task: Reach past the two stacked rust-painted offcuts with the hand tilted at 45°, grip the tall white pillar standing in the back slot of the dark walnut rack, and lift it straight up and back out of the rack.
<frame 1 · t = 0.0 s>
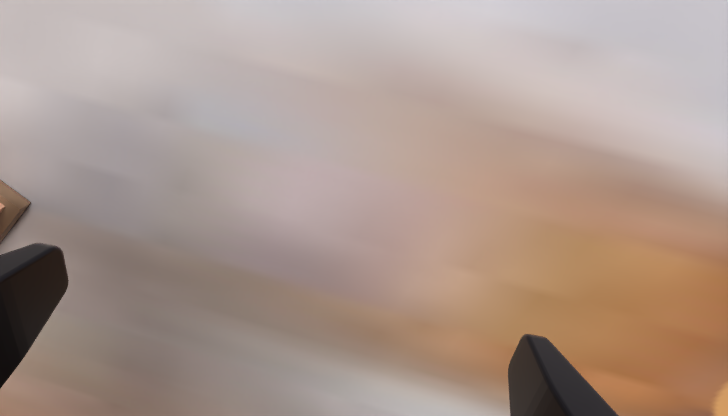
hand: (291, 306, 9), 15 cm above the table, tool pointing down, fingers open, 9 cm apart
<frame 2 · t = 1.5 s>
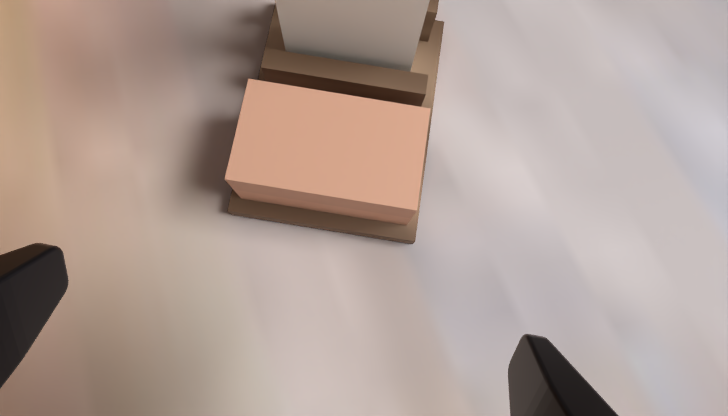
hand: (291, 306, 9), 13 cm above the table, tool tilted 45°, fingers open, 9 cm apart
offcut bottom: (332, 166, 23), point 1 cm above the table, touching offcut top, rack
rack: (342, 117, 24), on the table
offcut top: (331, 155, 21), point 2 cm above the table, touching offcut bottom
tall white pillar: (351, 57, 24), point 1 cm above the table, touching rack
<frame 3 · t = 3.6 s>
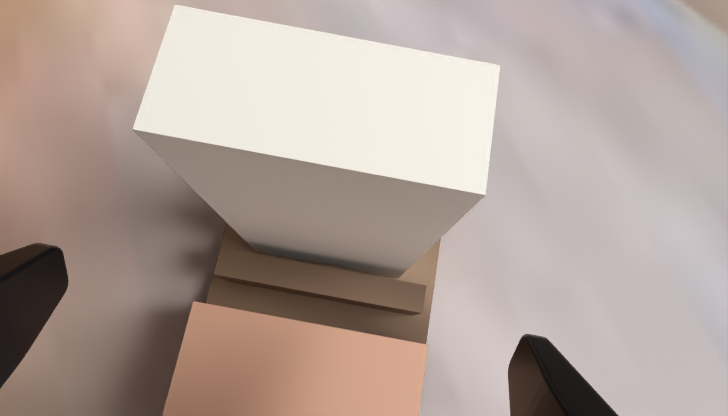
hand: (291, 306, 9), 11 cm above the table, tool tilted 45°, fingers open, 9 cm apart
rack: (319, 308, 20), on the table
offcut top: (300, 389, 17), point 2 cm above the table, touching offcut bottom
tall white pillar: (333, 235, 20), point 1 cm above the table, touching rack
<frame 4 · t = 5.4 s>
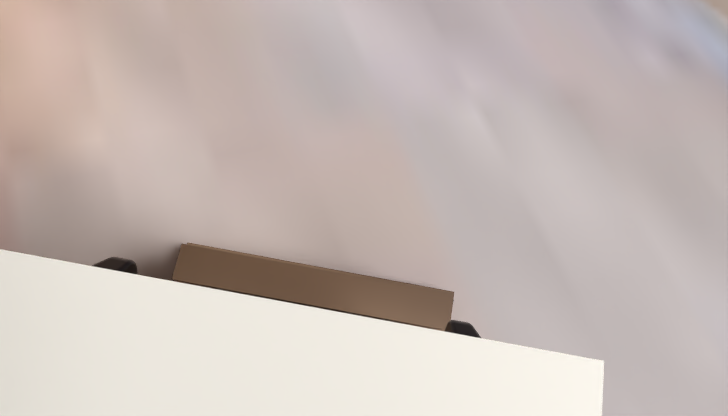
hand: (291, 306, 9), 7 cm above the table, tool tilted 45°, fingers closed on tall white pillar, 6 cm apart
tall white pillar: (301, 360, 15), point 1 cm above the table, touching gripper, rack
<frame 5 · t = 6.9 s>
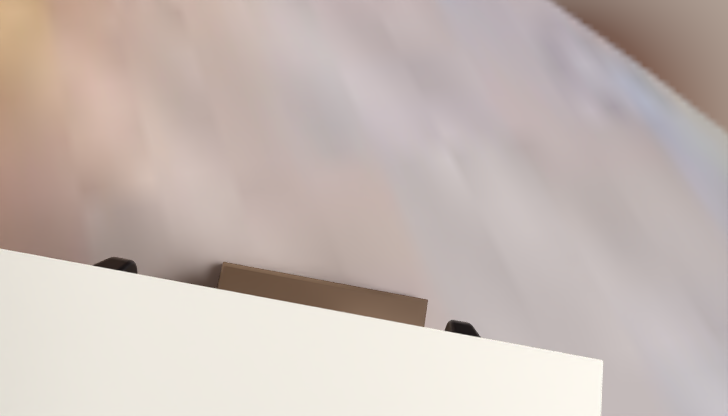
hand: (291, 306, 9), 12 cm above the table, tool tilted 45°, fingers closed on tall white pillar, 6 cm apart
tall white pillar: (301, 360, 15), point 6 cm above the table, touching gripper
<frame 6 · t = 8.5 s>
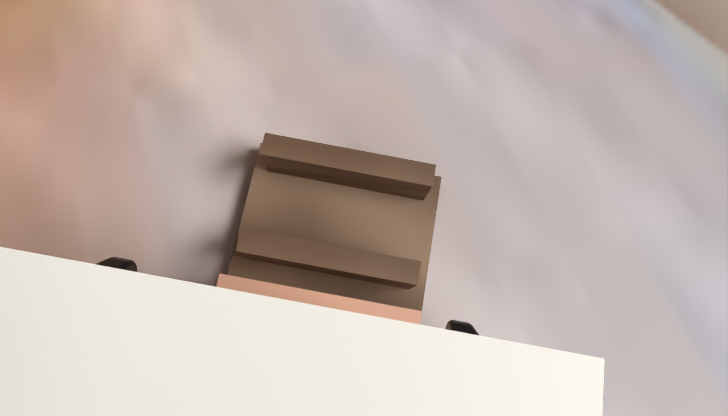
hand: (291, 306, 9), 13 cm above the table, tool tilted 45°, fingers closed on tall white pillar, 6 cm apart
rack: (327, 283, 22), on the table
offcut top: (311, 350, 19), point 2 cm above the table, touching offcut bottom
tall white pillar: (301, 359, 15), point 7 cm above the table, touching gripper
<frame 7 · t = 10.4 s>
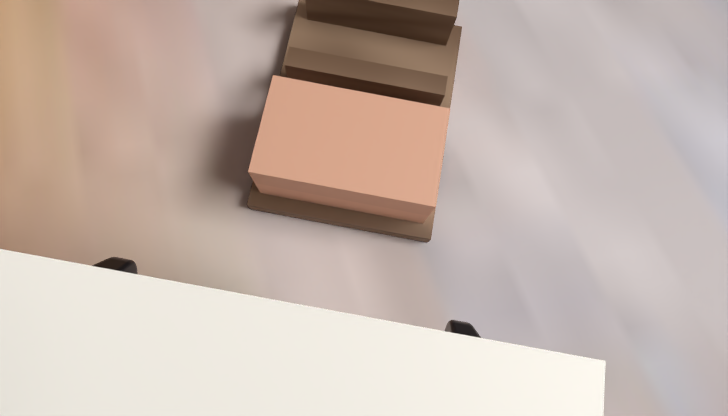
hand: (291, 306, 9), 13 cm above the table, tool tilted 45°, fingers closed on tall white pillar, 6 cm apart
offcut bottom: (350, 164, 23), point 1 cm above the table, touching offcut top, rack
rack: (360, 116, 25), on the table
offcut top: (351, 152, 22), point 2 cm above the table, touching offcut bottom
tall white pillar: (301, 360, 15), point 7 cm above the table, touching gripper
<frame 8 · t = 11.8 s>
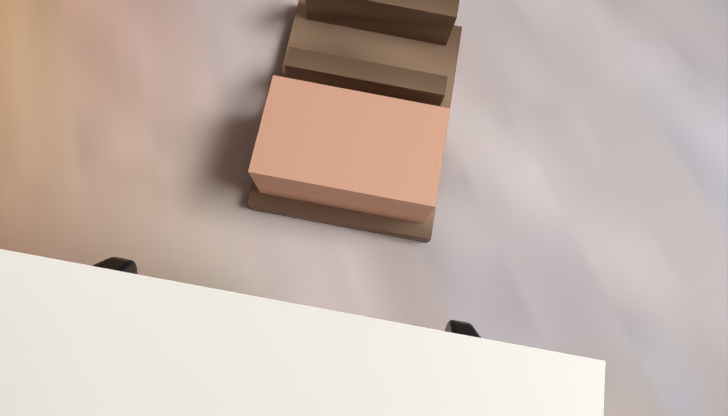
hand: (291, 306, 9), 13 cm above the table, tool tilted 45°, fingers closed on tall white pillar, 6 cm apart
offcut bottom: (350, 164, 23), point 1 cm above the table, touching offcut top, rack
rack: (360, 117, 25), on the table
offcut top: (351, 152, 22), point 2 cm above the table, touching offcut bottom
tall white pillar: (301, 360, 15), point 7 cm above the table, touching gripper
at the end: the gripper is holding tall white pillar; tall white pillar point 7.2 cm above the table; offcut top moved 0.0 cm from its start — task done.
